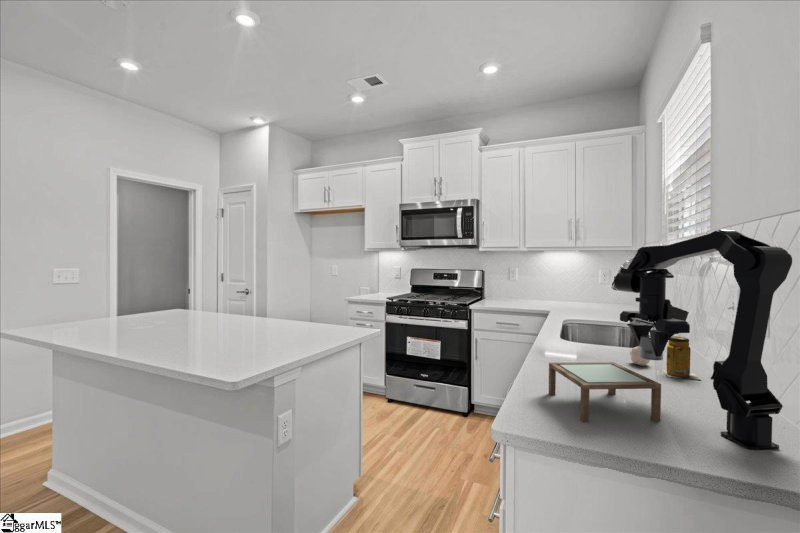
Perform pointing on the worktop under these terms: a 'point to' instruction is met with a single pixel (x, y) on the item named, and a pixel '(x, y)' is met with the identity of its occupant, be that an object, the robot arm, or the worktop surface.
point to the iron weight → (648, 348)
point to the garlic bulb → (638, 357)
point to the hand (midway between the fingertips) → (651, 353)
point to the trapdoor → (601, 373)
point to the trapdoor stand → (606, 387)
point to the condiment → (679, 358)
